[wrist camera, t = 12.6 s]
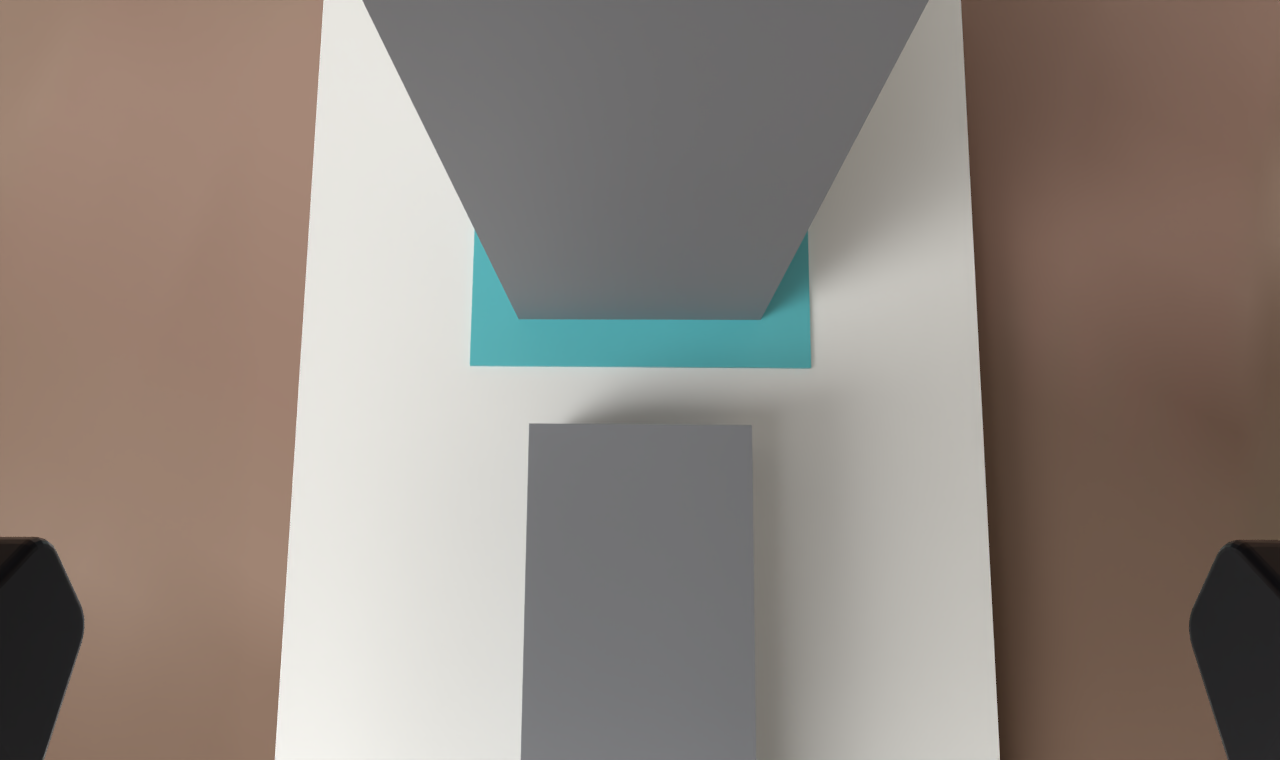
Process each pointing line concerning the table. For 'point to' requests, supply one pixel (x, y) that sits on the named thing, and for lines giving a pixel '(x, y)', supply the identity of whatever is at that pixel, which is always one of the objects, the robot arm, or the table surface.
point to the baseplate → (468, 441)
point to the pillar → (643, 138)
